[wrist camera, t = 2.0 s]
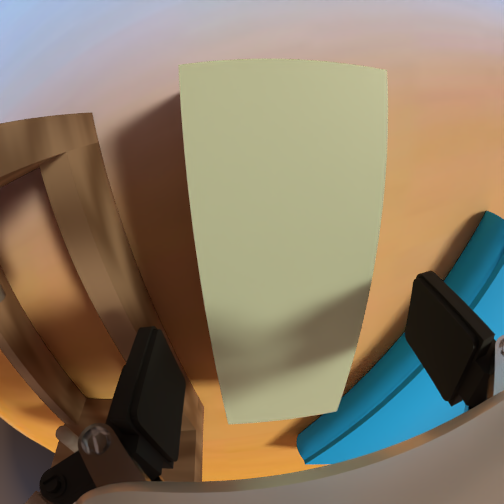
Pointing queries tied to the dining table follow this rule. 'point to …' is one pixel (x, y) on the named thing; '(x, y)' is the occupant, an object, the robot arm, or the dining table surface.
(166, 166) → the dining table surface
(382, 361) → the book
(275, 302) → the pale green block
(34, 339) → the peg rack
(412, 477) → the robot arm
